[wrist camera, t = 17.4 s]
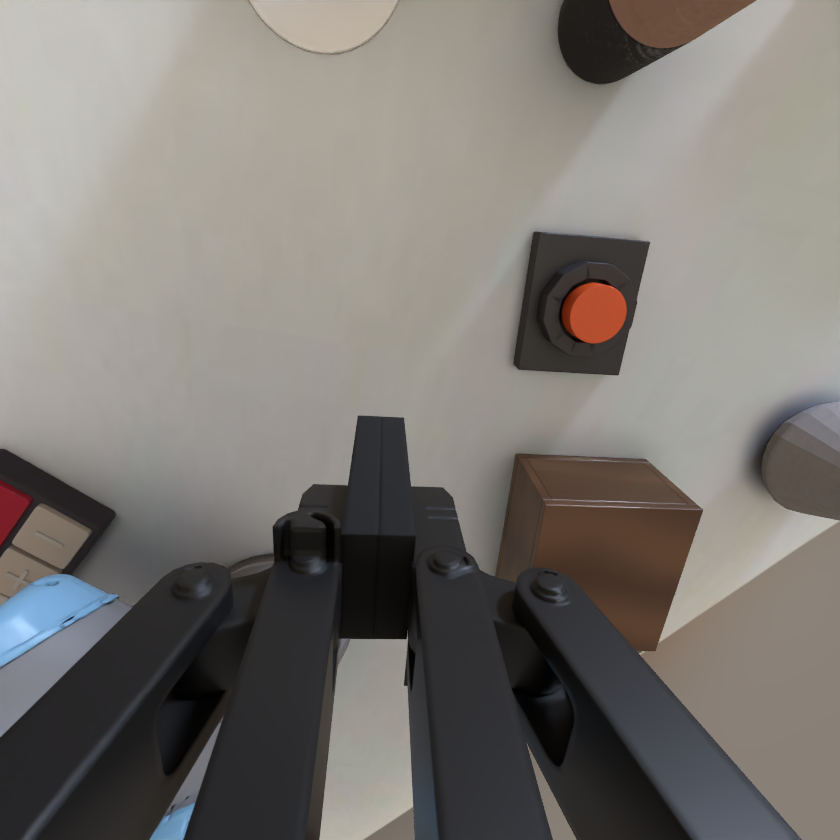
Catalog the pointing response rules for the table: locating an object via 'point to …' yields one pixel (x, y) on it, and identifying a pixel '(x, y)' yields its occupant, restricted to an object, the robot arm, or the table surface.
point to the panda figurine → (325, 22)
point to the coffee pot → (806, 462)
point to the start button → (594, 312)
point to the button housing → (551, 284)
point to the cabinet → (602, 534)
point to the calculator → (42, 525)
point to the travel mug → (632, 32)
